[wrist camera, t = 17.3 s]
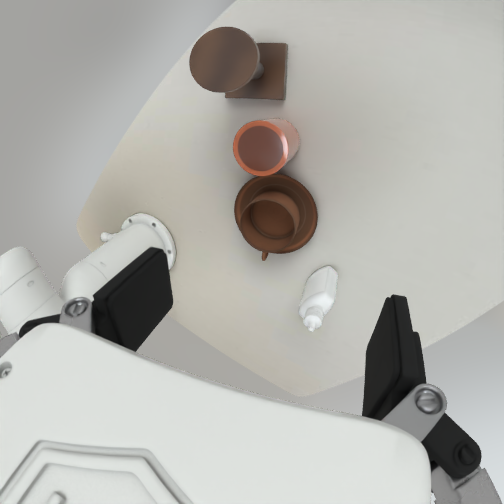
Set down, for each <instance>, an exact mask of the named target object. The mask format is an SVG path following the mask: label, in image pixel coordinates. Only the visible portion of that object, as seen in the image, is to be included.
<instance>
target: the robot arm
mask: <svg viewBox="0 0 504 504" xmlns="http://www.w3.org/2000/svg"><path fill="white" fill-rule="evenodd" d="M101 241H102V242H106V243H105V244H103V245H102V246H101V247H99V248H98V249H96V250H95V251H93V252H92V253H91V254H90V255H88V256H87V257H85V258H84V259H82V260H81V261H80V262H78V263H77V264H75V265H74V266H73V267H72V268H70V269H69V271H68V272H67V273H66V275H65V277H64V279H63V282H62V285H61V288H60V293H59V295H58V294H57V292H56V291H55V290H54V288H53V287H52V285H51V283H50V282H49V280H48V279H47V277H46V275H45V274H44V272H43V270H42V269H41V267H40V265H39V263H38V262H37V260H36V258H35V257H34V255H33V254H32V253H31V252H30V251H29V250H28V249H27V248H25V247H16V248H13V249H11V250H9V251H7V252H6V253H4V254H3V255H2V256H0V321H1V323H2V324H3V326H4V327H5V329H6V330H7V332H8V334H9V335H8V336H6V337H3V336H2V334H1V332H0V504H430V503H431V492H432V493H434V495H435V498H436V500H435V501H434V502H435V504H502V502H501V500H500V498H499V495H498V493H497V491H496V489H495V487H494V485H493V483H492V481H491V479H490V477H489V475H488V473H487V471H486V469H485V468H484V469H481V467H480V465H479V464H480V462H481V450H480V448H479V446H478V445H477V443H476V442H475V441H474V440H473V439H472V438H471V437H470V436H469V435H468V434H467V433H466V432H465V431H464V430H462V429H461V428H460V427H459V426H458V425H457V424H456V423H455V422H454V421H453V420H452V419H451V418H450V417H449V416H448V415H447V414H446V413H444V412H445V410H446V407H447V400H446V397H445V395H444V393H443V392H442V391H441V390H440V389H439V388H438V387H436V386H434V385H431V384H426V376H425V368H424V361H423V354H422V348H421V342H420V337H419V333H418V332H413V330H412V324H411V318H410V313H409V308H408V303H407V298H406V297H405V296H399V295H394V294H393V295H392V296H391V298H389V297H387V298H386V300H385V303H384V305H383V308H382V311H381V313H380V316H379V319H378V321H377V324H376V326H375V329H374V331H373V334H372V336H371V339H370V341H369V344H368V346H367V350H366V366H365V385H364V400H363V411H362V416H358V415H353V414H349V413H344V412H338V411H333V410H328V409H323V408H317V407H313V406H308V405H303V404H299V403H294V402H290V401H286V400H281V399H277V398H273V397H269V396H265V395H261V394H258V393H254V392H250V391H247V390H243V389H239V388H236V387H233V386H229V385H226V384H223V383H220V382H216V381H213V380H210V379H207V378H204V377H201V376H198V375H195V374H192V373H189V372H186V371H183V370H181V369H178V368H175V367H172V366H170V365H167V364H164V363H162V362H159V361H157V360H154V359H152V358H149V357H147V356H144V355H142V354H139V353H137V352H136V351H137V349H138V348H139V347H140V346H141V344H142V343H143V342H144V341H145V340H146V338H147V337H148V336H149V335H150V333H151V332H152V331H153V329H154V328H155V327H156V326H157V325H158V324H159V322H160V321H161V320H162V319H163V317H164V316H165V315H166V314H167V313H168V312H169V310H170V309H171V308H172V305H173V296H172V289H171V282H170V275H169V270H170V269H171V267H172V266H173V264H174V262H175V258H176V249H175V244H174V241H173V239H172V236H171V235H170V233H169V231H168V230H167V228H166V227H165V226H164V225H163V224H162V223H161V222H160V221H159V220H157V219H156V218H155V217H153V216H150V215H148V214H144V213H138V214H134V215H132V216H130V217H129V218H127V219H126V220H125V221H124V223H123V225H122V227H121V232H119V233H114V234H111V233H106V232H103V233H102V234H101Z"/></svg>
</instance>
